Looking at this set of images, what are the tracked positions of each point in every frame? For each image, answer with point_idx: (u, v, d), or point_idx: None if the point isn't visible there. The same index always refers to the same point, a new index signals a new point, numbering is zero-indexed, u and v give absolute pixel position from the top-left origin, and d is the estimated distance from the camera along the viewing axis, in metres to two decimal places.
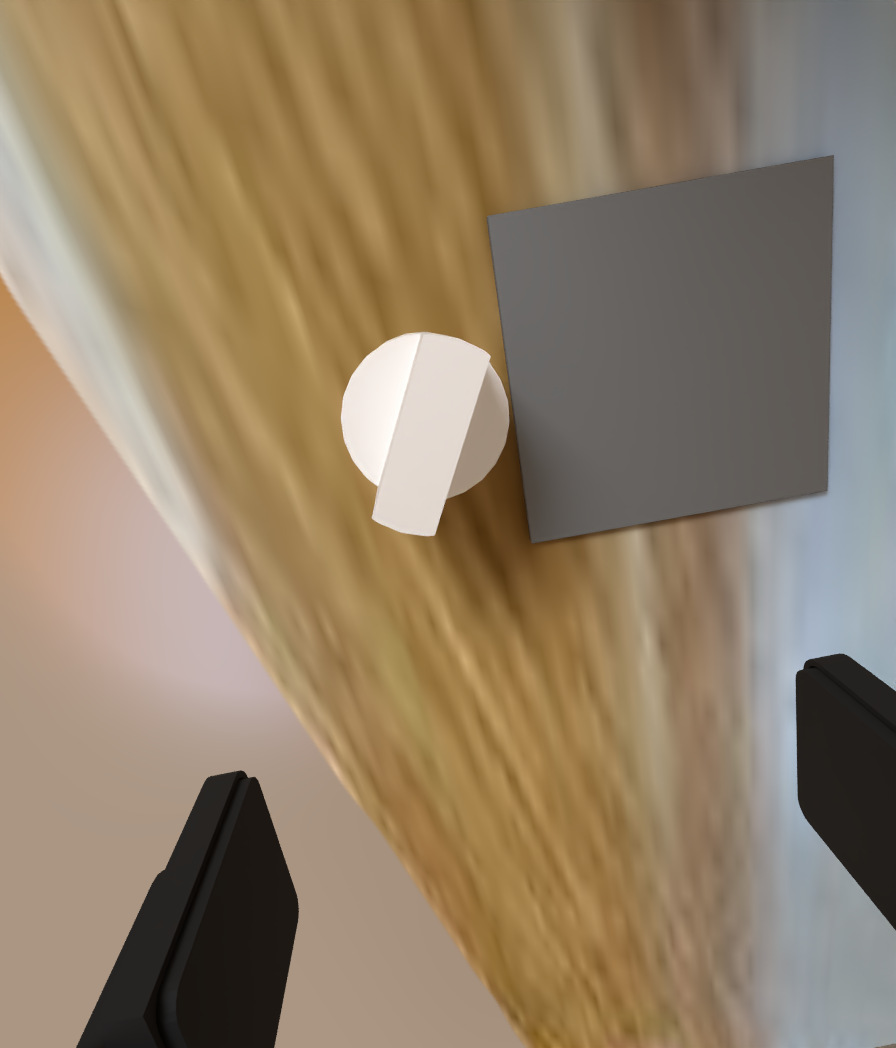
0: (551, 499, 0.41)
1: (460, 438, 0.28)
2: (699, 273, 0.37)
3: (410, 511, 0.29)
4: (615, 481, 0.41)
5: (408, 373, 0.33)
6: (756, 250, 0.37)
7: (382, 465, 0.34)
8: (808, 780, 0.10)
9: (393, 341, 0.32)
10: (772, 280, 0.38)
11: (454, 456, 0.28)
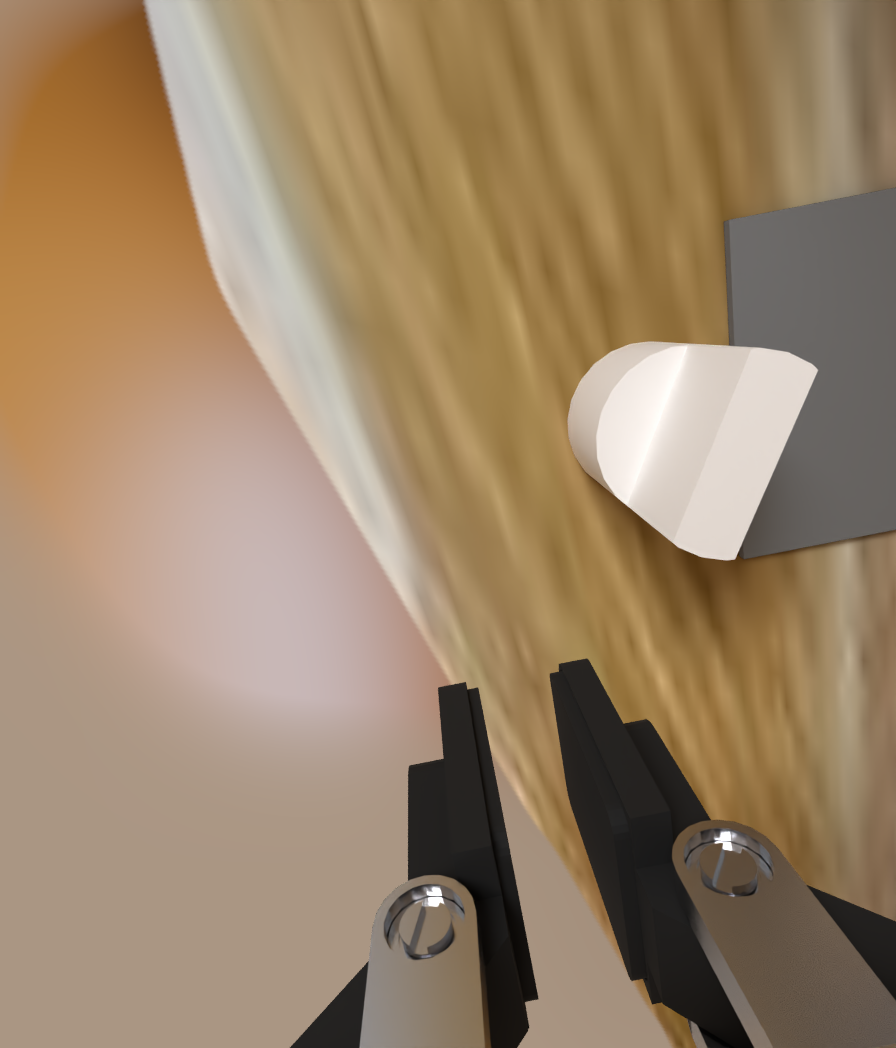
0: (768, 513, 0.39)
1: (774, 457, 0.26)
2: None
3: (713, 535, 0.27)
4: (835, 493, 0.39)
5: (670, 387, 0.31)
6: None
7: (633, 483, 0.33)
8: (566, 772, 0.12)
9: (658, 353, 0.31)
10: None
11: (766, 476, 0.27)
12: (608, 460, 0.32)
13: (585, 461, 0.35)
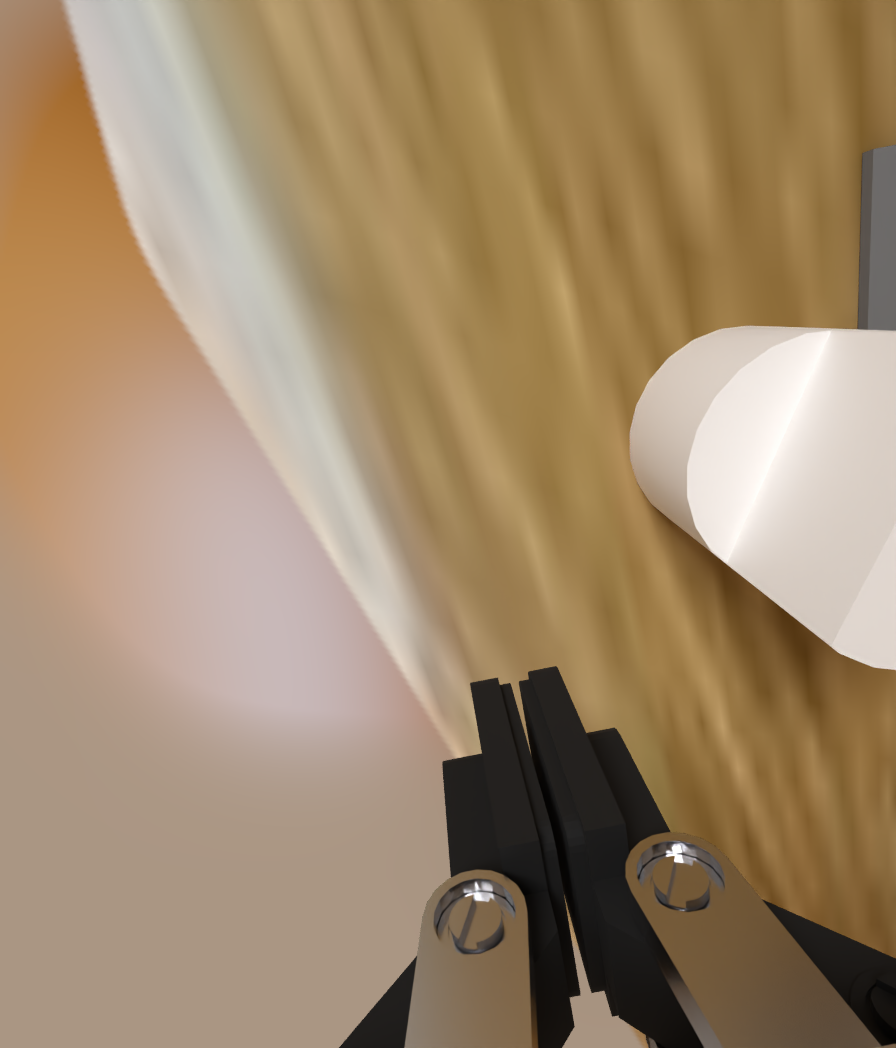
0: None
1: None
2: None
3: (895, 634, 0.17)
4: None
5: (801, 393, 0.21)
6: None
7: (738, 532, 0.22)
8: None
9: (787, 343, 0.20)
10: None
11: None
12: (703, 500, 0.22)
13: (658, 494, 0.25)
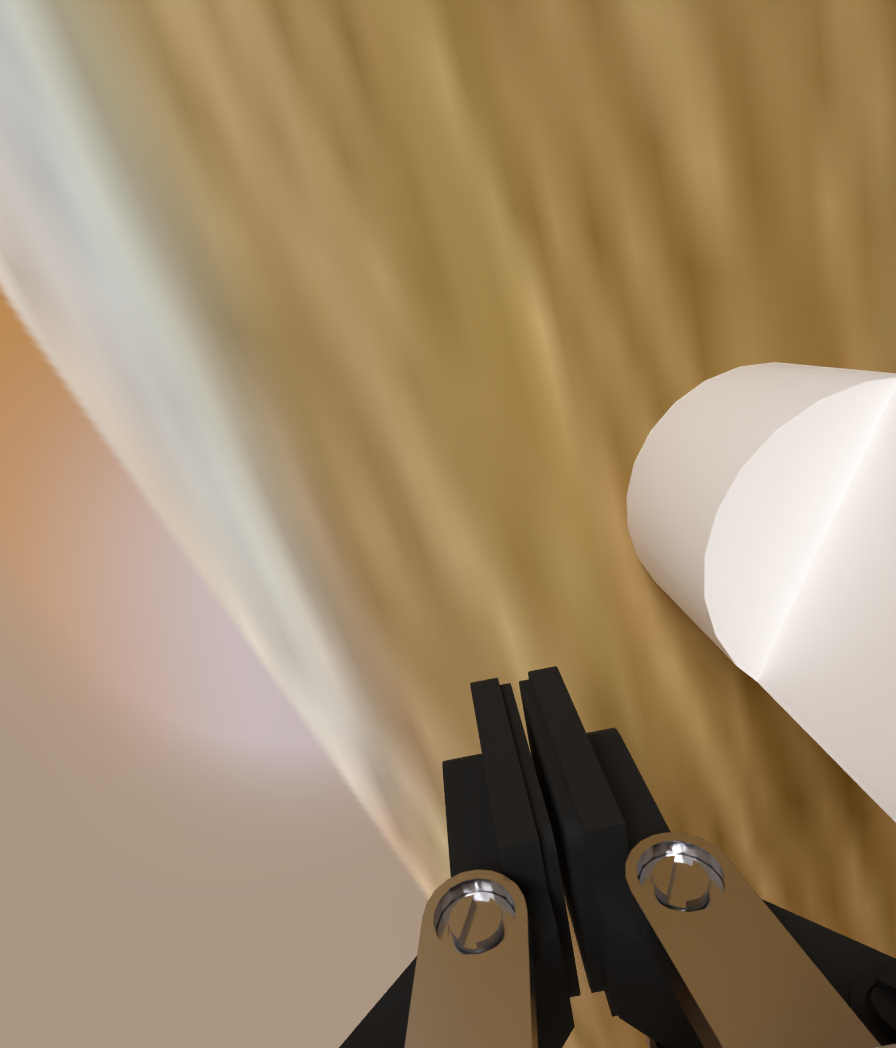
0: None
1: None
2: None
3: None
4: None
5: (858, 461, 0.15)
6: None
7: (772, 642, 0.17)
8: None
9: (840, 396, 0.15)
10: None
11: None
12: (726, 601, 0.16)
13: (665, 579, 0.20)
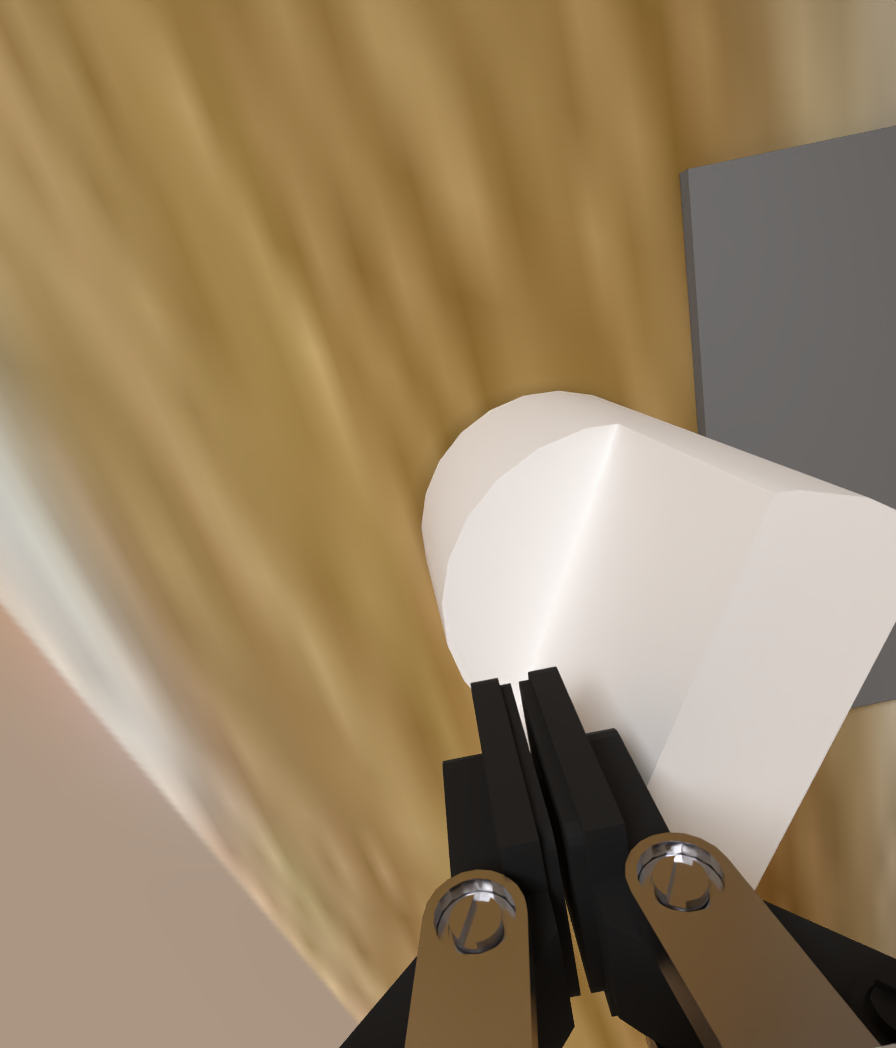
0: None
1: (824, 736, 0.11)
2: None
3: None
4: None
5: (586, 507, 0.15)
6: None
7: None
8: None
9: (559, 443, 0.15)
10: None
11: (803, 777, 0.11)
12: (470, 648, 0.16)
13: None
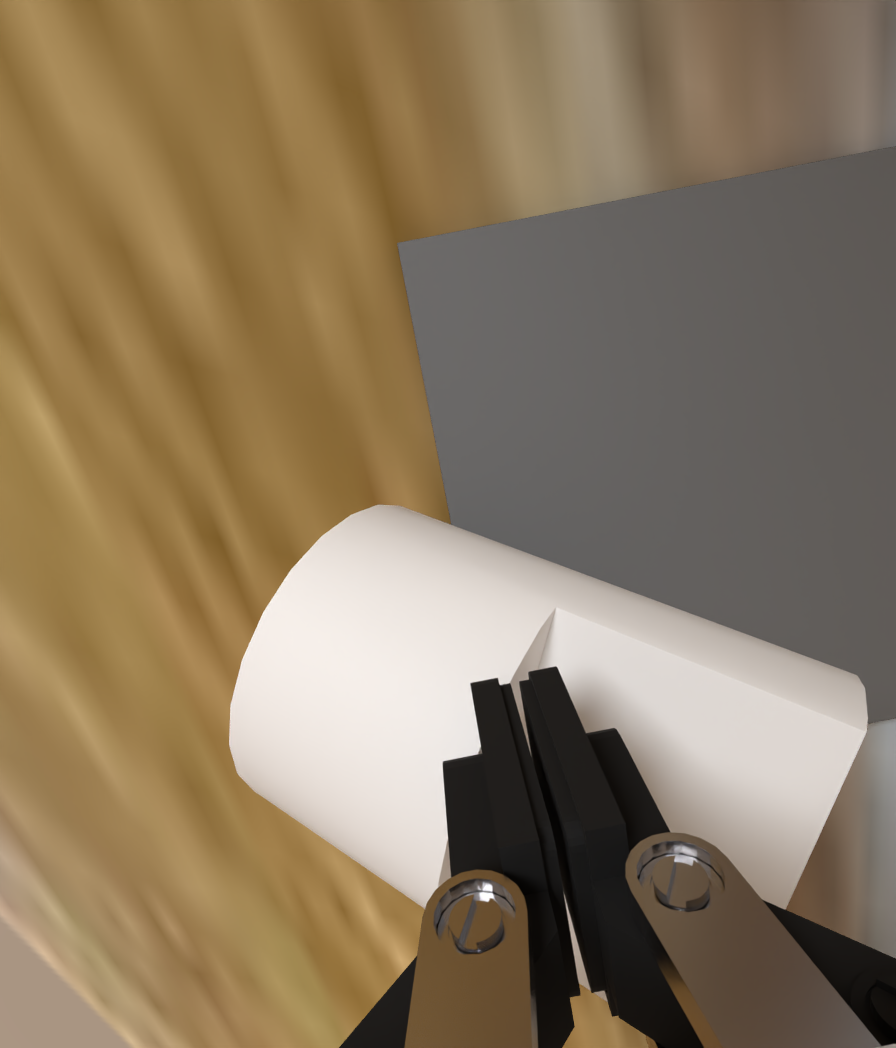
0: None
1: None
2: (802, 341, 0.20)
3: None
4: None
5: None
6: None
7: None
8: None
9: (526, 657, 0.13)
10: None
11: None
12: None
13: (329, 841, 0.15)
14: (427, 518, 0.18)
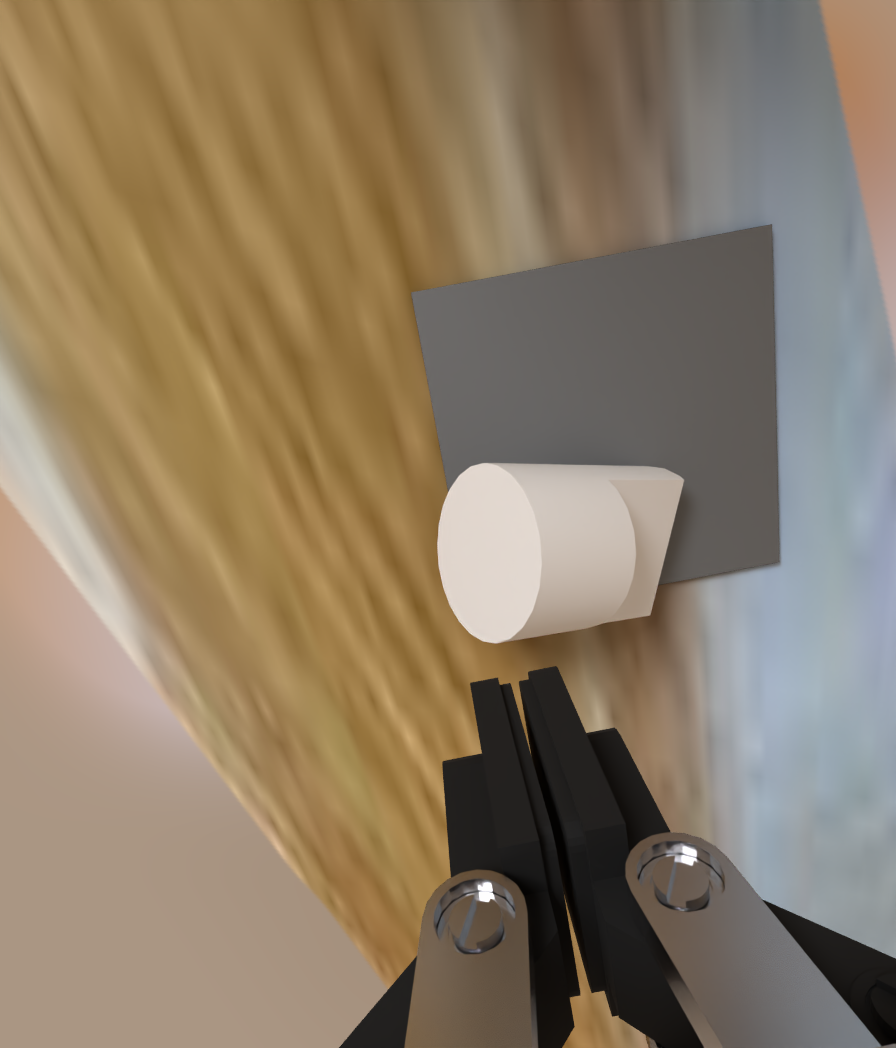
0: None
1: None
2: (636, 346, 0.36)
3: None
4: None
5: None
6: (695, 321, 0.36)
7: None
8: None
9: (622, 501, 0.32)
10: (713, 351, 0.36)
11: None
12: None
13: (556, 629, 0.31)
14: (508, 464, 0.32)
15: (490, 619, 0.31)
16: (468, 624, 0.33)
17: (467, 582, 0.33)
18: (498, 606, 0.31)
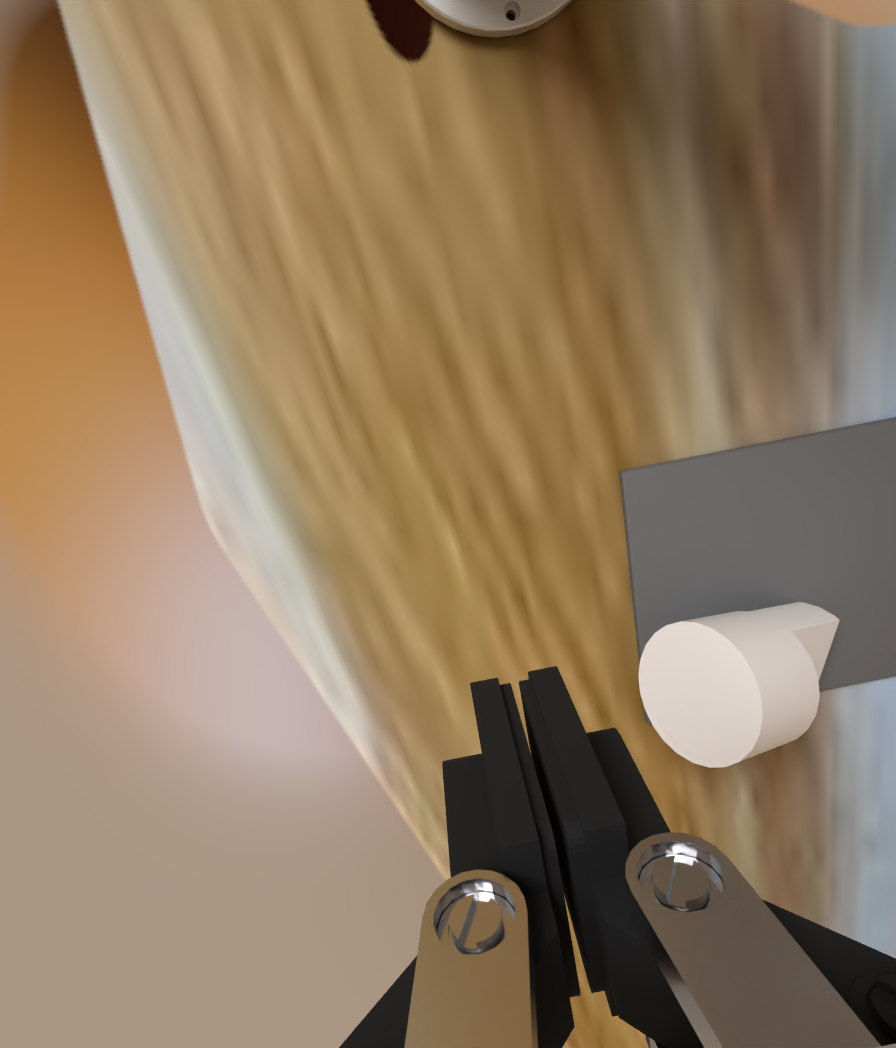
0: None
1: None
2: (798, 509, 0.44)
3: None
4: None
5: None
6: (848, 490, 0.43)
7: None
8: None
9: (805, 651, 0.40)
10: (861, 512, 0.44)
11: None
12: None
13: None
14: (714, 622, 0.40)
15: (701, 746, 0.39)
16: (674, 745, 0.41)
17: (675, 712, 0.41)
18: (711, 738, 0.39)
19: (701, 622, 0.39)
